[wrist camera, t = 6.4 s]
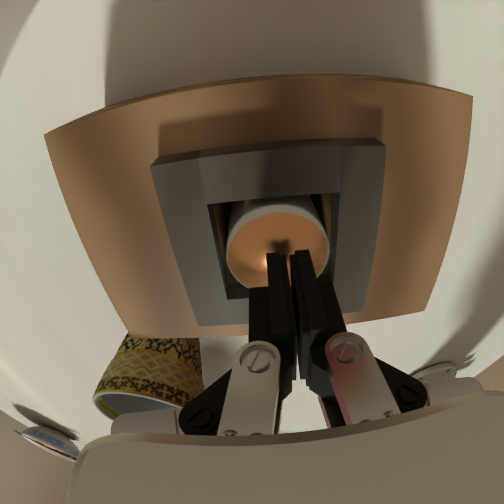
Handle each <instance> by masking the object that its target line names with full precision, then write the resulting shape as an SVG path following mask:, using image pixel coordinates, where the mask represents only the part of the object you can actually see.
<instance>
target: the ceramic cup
mask: <svg viewBox="0 0 504 504" xmlns="http://www.w3.org/2000/svg"><path fill="white" fill-rule="evenodd" d="M203 391H204V385H203V380H202V367H201V357H200V344H199V338H157V339H138V338H132V337H131V335H130V333H129V332H128V333H127V335H126V337H125V338H124V340H123V342H122V344H121V345H120V347H119V349H118V351H117V353H116V355H115V356H114V358H113V359H112V361H111V362H110V364H109V365H108V367H107V369H106V371H105V373H104V374H103V376H102V378H101V380H100V382H99V384H98V386H97V389H96V391H95V393H94V396H93V403H94V405H95V407H96V408H97V409H98V410H99V411H100V412H101V413H102V414H103V415H105V416H106V417H108V418H109V419H111V420H113V421H114V420H115V419H116V418H117V417H118V416H120V415H122V414H126V413H135V412H143V411H151V410H159V409H165V408H172V407H173V408H174V409H180V408H183V407H184V406H185V405H186V404H187V403H189V402H190V401H191V400H193V399H194V398H195V397H197V396H198V395H199V394H200V393H202V392H203Z"/></svg>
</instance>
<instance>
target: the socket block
mask: <svg viewBox="0 0 504 504" xmlns="http://www.w3.org/2000/svg"><path fill="white" fill-rule="evenodd" d="M472 103H473V96H471V95H467V94H464V93H461V92H457V91H454V90H450V89H446V88H442V87H438V86H434V85H429V84H425V83H420V82H415V81H410V80H404V79H396V78H387V77H377V76H364V75H345V74H293V75H274V76H260V77H250V78H240V79H232V80H224V81H217V82H210V83H204V84H198V85H193V86H187V87H182V88H177V89H172V90H168V91H163V92H159V93H155V94H151V95H147V96H143V97H139V98H135V99H132V100H128V101H125V102H121V103H118V104H114V105H111V106H108V107H105V108H102V109H100V110H97V111H95V112H92V113H90V114H87V115H85V116H83V117H80V118H78V119H76V120H73V121H71V122H69V123H67V124H65V125H62V126H60V127H58V128H56V129H54V130H52V131H50V132H48V133H46V134H44V137H45V141H46V145H47V148H48V152H49V155H50V158H51V161H52V165H53V168H54V171H55V174H56V177H57V180H58V183H59V186H60V188H61V191H62V194H63V197H64V199H65V202H66V205H67V207H68V210H69V213H70V215H71V218H72V220H73V222H74V225H75V227H76V230H77V232H78V234H79V237H80V239H81V241H82V244H83V246H84V248H85V250H86V252H87V255H88V257H89V259H90V261H91V263H92V265H93V267H94V269H95V271H96V273H97V275H98V277H99V279H100V281H101V283H102V285H103V287H104V289H105V291H106V293H107V295H108V297H109V298H110V300H111V302H112V304H113V306H114V308H115V309H116V311H117V313H118V315H119V316H120V318H121V320H122V322H123V323H124V325H125V327H126V328H127V330H128V332H129V333H130V335H131V337H132V338H138V339H157V338H201V337H222V336H239V335H249V288H247V287H245V286H244V285H242V284H241V283H240V282H238V281H237V280H236V279H235V278H234V276H233V275H232V273H231V272H230V270H229V268H228V265H227V261H226V248H227V238H228V228H229V218H230V209H231V201H240V200H250V199H260V198H270V197H282V196H294V195H306V194H309V195H310V197H311V200H312V202H313V204H314V207H315V209H316V211H317V214H318V216H319V218H320V221H321V223H322V226H323V228H324V230H325V233H326V235H327V238H328V241H329V246H330V253H329V258H328V262H327V264H326V266H325V268H324V270H323V271H322V273H321V274H320V275H319V276H318V277H317V281H318V282H320V281H329V280H331V281H332V283H333V286H334V290H335V293H336V296H337V299H338V303H339V306H340V309H341V313H342V316H343V319H344V323H345V324H352V323H359V322H365V321H371V320H377V319H383V318H389V317H395V316H400V315H405V314H411V313H416V312H421V311H424V310H425V308H426V306H427V303H428V301H429V298H430V295H431V293H432V290H433V287H434V285H435V282H436V279H437V276H438V273H439V271H440V268H441V265H442V262H443V258H444V255H445V252H446V249H447V245H448V242H449V239H450V235H451V231H452V228H453V224H454V220H455V216H456V212H457V208H458V203H459V199H460V194H461V189H462V184H463V179H464V174H465V168H466V161H467V155H468V147H469V139H470V130H471V119H472Z"/></svg>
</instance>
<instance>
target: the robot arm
mask: <svg viewBox="0 0 504 504" xmlns="http://www.w3.org/2000/svg"><path fill="white" fill-rule="evenodd" d="M266 261H267V275H268V286H265V287H253V288H249V343H247V344H245V345H244V346H242V347H241V348H240V349H239V350H238V351H237V353H236V355H235V358H234V363H233V367H232V368H231V369H230V370H229V371H228V372H227V373H225V374H224V375H223V376H222V377H220V378H219V379H218V380H217V381H216V382H214V383H213V384H212V385H211V386H209V387H208V388H207V389H205V390H204V391H203V392H202V393H200V394H199V395H198V396H197V397H195V398H194V399H193V400H191V401H190V402H189V403H187V404H186V405H185V406H184V407H183V408H180V409H174V408H173V407H172V408H165V409H159V410H151V411H143V412H135V413H126V414H122V415H120V416H118V417H117V418H116V419H115V420H114V421H113V423H112V426H111V435H107V436H104V437H100V438H98V439H95V440H93V441H91V442H89V443H88V444H86V445H85V446H84V448H83V449H82V450H81V452H80V453H79V455H78V457H77V460H76V462H75V465H74V468H73V471H72V474H71V478H70V482H69V487H68V491H67V496H66V502H65V504H504V391H502V390H483V387H482V384H480V382H479V381H478V380H476V379H475V378H472V377H464V378H456V377H455V376H456V373H457V370H456V367H455V365H454V364H452V363H441V364H437V365H434V366H431V367H429V368H426V369H424V370H422V371H420V372H418V373H416V374H414V375H412V376H410V375H408V374H406V373H404V372H402V371H400V370H398V369H396V368H395V367H393V366H391V365H389V364H387V363H385V362H383V361H381V360H379V359H378V358H376V357H374V356H373V354H372V352H371V350H370V348H369V346H368V344H367V342H366V341H365V340H364V339H363V338H362V337H361V336H359V335H357V334H355V333H351V332H347V330H346V326H345V323H344V319H343V316H342V313H341V309H340V306H339V303H338V299H337V296H336V293H335V290H334V286H333V283H332V281H331V280H329V281H320V282H318V281H317V277H316V273H315V270H314V266H313V262H312V259H311V255H310V252H309V249H306V250H295V254H291V255H290V280H289V274H288V267H287V261H286V255H280V252H272V253H266ZM290 282H291V286H290ZM297 356H298V364H299V372H300V379H306V385H307V386H309V389H310V390H311V391H313V392H314V393H316V394H317V395H318V400H319V403H320V406H321V409H322V412H323V415H324V418H325V421H326V424H327V428H328V429H321V430H314V431H305V432H296V433H285V434H279V432H280V424H281V415H282V406H283V400H284V399H285V398H286V397H287V396H288V395H289V394H290V393H291V392H292V380H296V366H297Z"/></svg>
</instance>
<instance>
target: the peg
mask: <svg viewBox="0 0 504 504" xmlns="http://www.w3.org/2000/svg"><path fill="white" fill-rule="evenodd" d="M306 249H309V252H310V255H311V259H312V262H313V266H314V270H315V273H316V277H318V276H319V275H320V274H321V273H322V271H323V270H324V268H325V266H326V264H327V262H328V258H329V253H330V246H329V241H328V238H327V235H326V233H325V230H324V228H323V226H322V223H321V221H320V218H319V216H318V214H317V211H316V209H315V207H314V204H313V202H312V200H311V197H310V195H309V194H306V195H294V196H282V197H270V198H260V199H250V200H240V201H231V209H230V218H229V228H228V238H227V248H226V261H227V265H228V268H229V270H230V272H231V273H232V275H233V276H234V278H235V279H236V280H237V281H238V282H240V283H241V284H242V285H244V286H245V287H247V288H253V287H265V286H268V275H267V261H266V253H272V252H280V255H286V261H287V267H288V274H289V280H290V255H291V254H295V250H306ZM290 286H291V282H290Z"/></svg>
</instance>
